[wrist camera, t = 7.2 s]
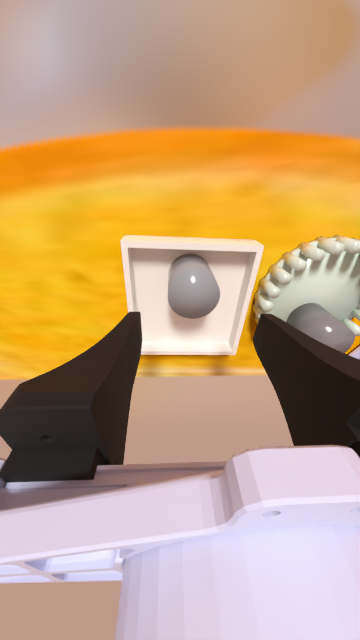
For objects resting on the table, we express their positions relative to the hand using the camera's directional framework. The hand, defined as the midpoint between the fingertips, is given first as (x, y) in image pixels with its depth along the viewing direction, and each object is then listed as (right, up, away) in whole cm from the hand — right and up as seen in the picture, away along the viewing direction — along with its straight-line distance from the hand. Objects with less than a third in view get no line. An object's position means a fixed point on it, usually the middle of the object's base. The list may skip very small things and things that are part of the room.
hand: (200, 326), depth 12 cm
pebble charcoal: (+13, +1, +10) cm, 16 cm away
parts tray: (0, +3, +9) cm, 9 cm away
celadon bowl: (+13, +3, +10) cm, 16 cm away
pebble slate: (0, +5, +7) cm, 8 cm away
